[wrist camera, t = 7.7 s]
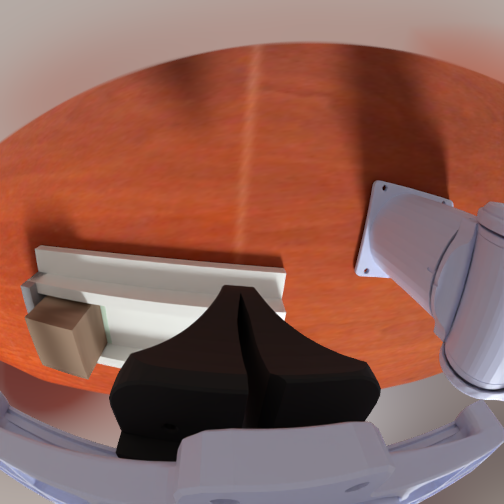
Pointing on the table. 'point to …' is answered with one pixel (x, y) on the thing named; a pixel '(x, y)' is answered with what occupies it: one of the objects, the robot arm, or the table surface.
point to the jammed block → (67, 334)
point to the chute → (143, 292)
